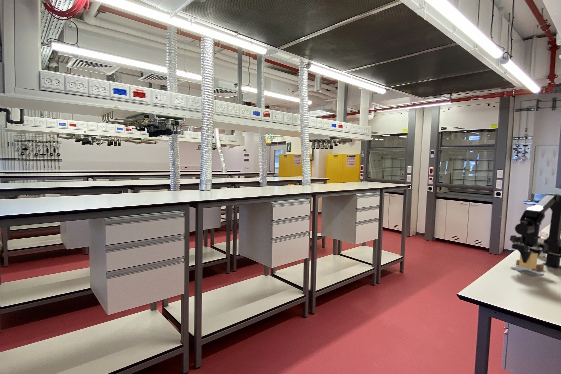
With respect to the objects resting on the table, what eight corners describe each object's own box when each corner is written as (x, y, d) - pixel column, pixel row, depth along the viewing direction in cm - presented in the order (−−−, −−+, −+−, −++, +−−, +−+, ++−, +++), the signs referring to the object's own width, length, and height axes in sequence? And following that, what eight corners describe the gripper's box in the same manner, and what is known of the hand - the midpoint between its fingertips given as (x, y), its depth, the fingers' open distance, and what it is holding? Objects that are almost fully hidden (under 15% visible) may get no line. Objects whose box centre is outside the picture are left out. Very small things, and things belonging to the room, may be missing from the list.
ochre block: (525, 265, 159) (527, 250, 158) (535, 268, 154) (537, 253, 153) (518, 265, 157) (520, 251, 157) (529, 269, 153) (531, 254, 152)
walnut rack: (526, 264, 168) (526, 258, 168) (543, 269, 160) (544, 264, 160) (515, 265, 166) (516, 259, 165) (532, 270, 158) (533, 265, 157)
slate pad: (520, 267, 162) (521, 266, 162) (543, 275, 152) (544, 273, 152) (510, 268, 160) (510, 267, 160) (533, 276, 149) (533, 275, 149)
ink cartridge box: (528, 252, 192) (531, 229, 191) (537, 253, 191) (540, 230, 190) (536, 256, 184) (539, 233, 183) (546, 257, 183) (549, 233, 182)
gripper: (527, 228, 164) (523, 256, 166) (502, 230, 159) (499, 258, 160) (550, 234, 154) (546, 263, 155) (525, 235, 148) (521, 265, 150)
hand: (527, 262), depth 155 cm, fingers closed on ochre block, 5 cm apart
